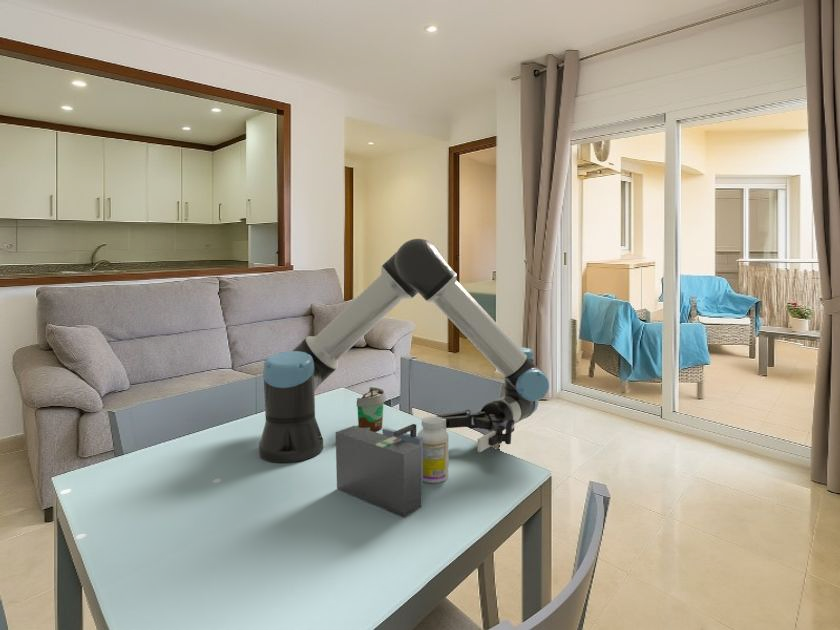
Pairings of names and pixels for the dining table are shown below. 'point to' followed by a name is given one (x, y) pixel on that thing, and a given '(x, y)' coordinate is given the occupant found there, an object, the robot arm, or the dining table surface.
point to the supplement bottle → (434, 449)
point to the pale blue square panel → (407, 439)
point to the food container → (371, 409)
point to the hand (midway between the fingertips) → (452, 438)
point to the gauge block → (379, 469)
